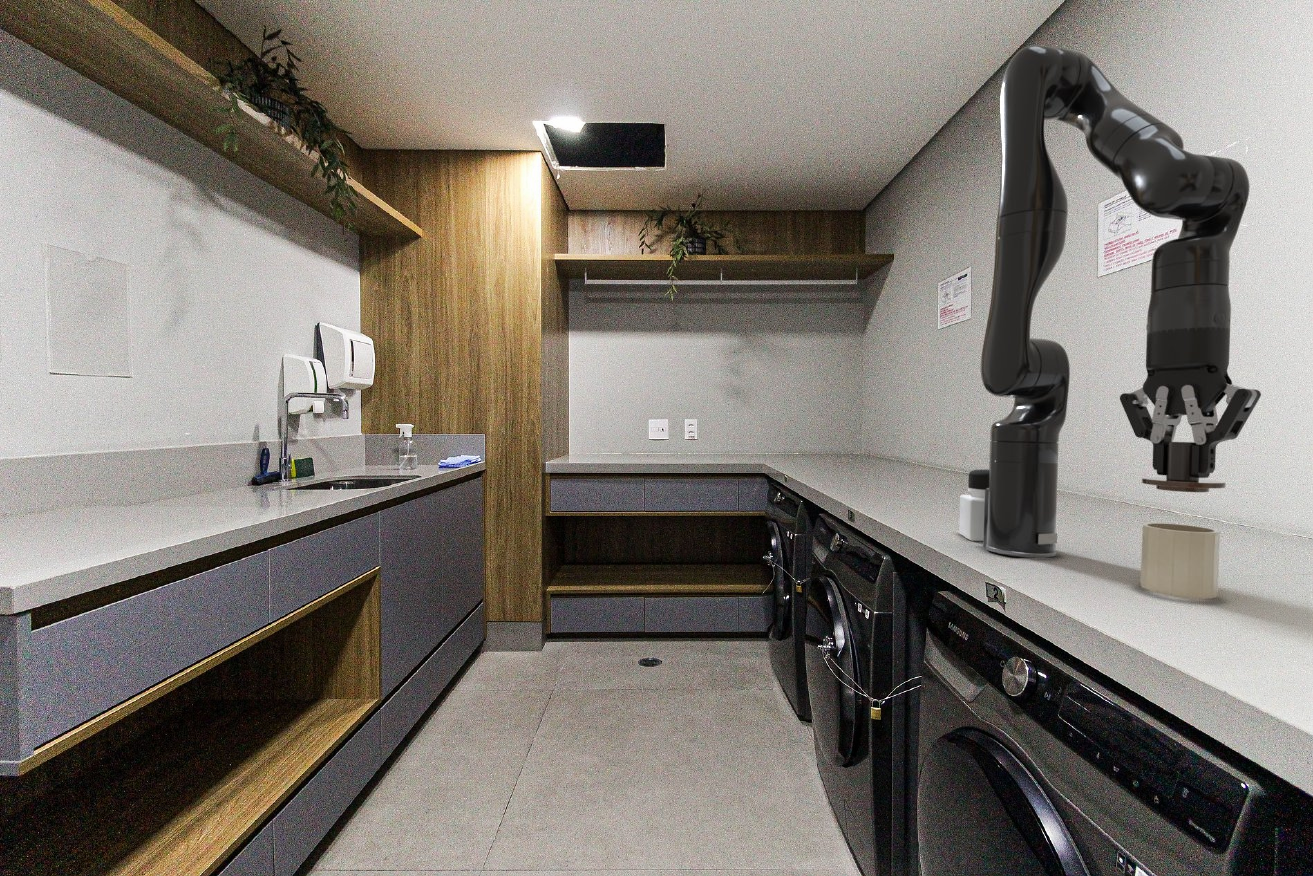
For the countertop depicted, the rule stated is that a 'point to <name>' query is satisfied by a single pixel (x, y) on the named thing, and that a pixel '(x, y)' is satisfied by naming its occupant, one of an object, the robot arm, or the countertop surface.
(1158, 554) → the canister
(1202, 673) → the countertop surface
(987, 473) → the medicine bottle
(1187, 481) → the lid
